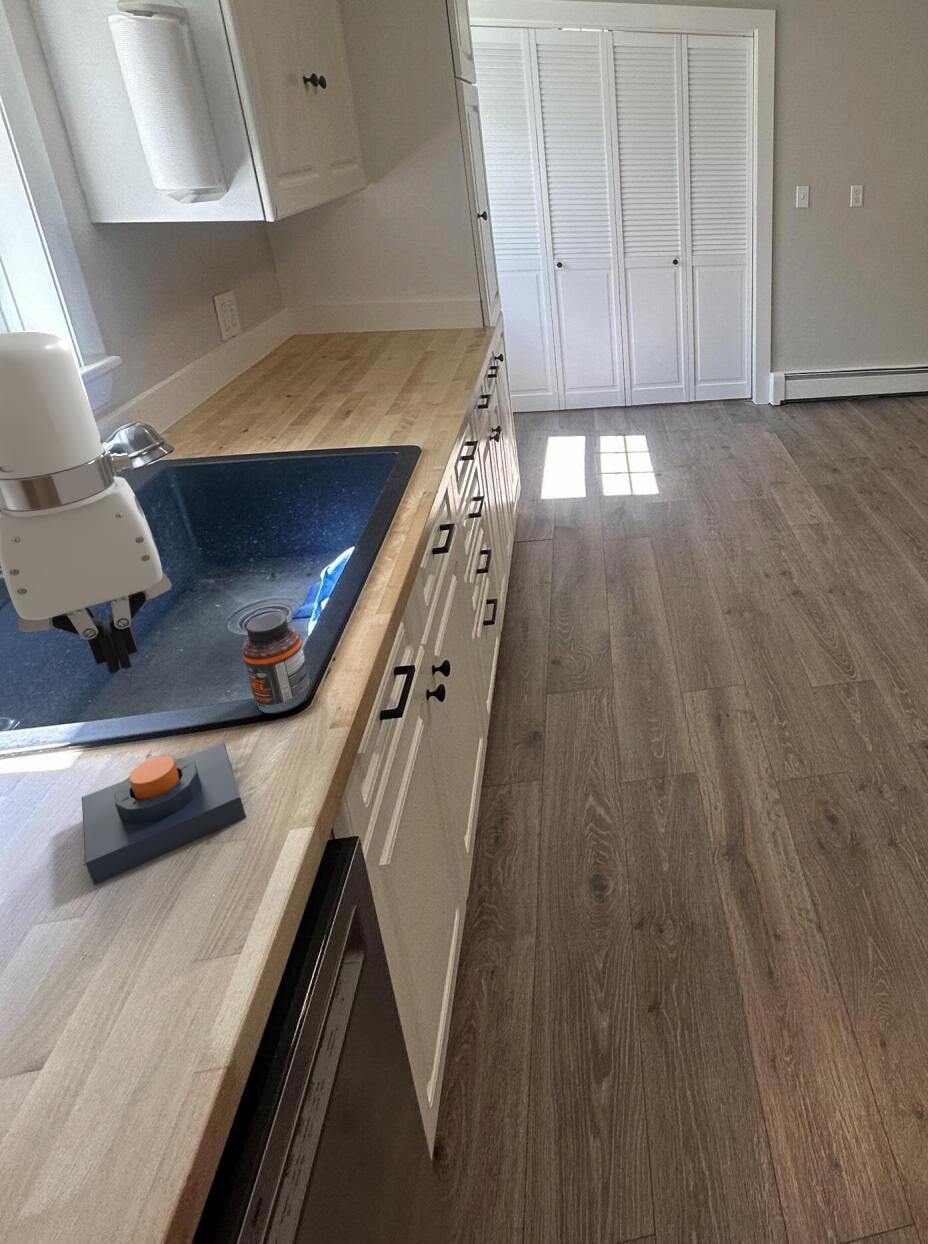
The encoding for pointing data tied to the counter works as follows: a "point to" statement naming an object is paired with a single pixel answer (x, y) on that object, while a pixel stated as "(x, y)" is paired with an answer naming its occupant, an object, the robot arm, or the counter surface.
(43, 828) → the counter surface
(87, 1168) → the counter surface
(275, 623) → the supplement bottle
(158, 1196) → the counter surface
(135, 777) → the push button
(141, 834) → the button box
